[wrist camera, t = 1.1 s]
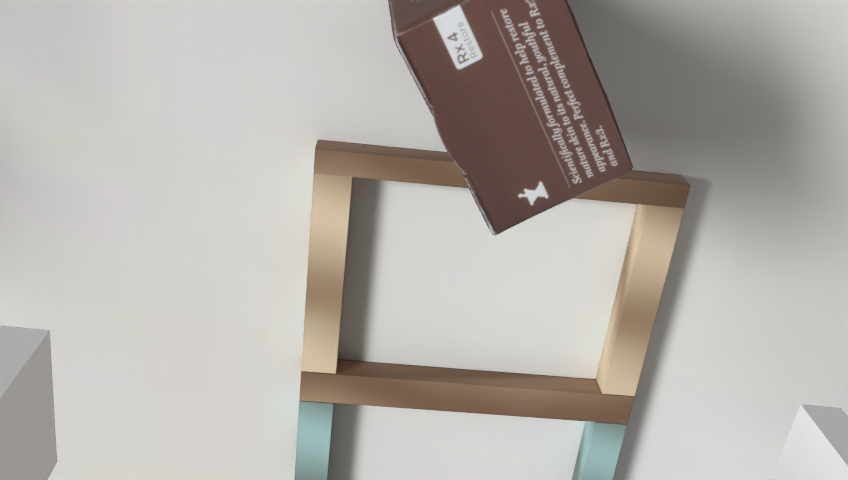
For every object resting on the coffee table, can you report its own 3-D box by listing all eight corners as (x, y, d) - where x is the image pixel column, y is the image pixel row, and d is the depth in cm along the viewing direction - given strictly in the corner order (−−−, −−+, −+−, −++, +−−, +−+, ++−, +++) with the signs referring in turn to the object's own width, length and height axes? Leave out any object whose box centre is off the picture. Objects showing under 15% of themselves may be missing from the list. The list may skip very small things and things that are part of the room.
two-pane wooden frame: (317, 139, 32) (315, 148, 31) (680, 175, 34) (690, 185, 33) (291, 552, 41) (288, 571, 40) (579, 569, 43) (584, 587, 41)
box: (554, 71, 32) (641, 175, 21) (450, 121, 32) (481, 248, 21) (492, -78, 29) (552, -48, 18) (381, -20, 30) (375, 41, 19)
